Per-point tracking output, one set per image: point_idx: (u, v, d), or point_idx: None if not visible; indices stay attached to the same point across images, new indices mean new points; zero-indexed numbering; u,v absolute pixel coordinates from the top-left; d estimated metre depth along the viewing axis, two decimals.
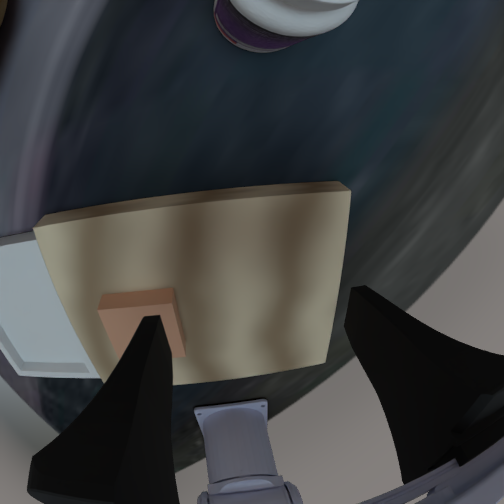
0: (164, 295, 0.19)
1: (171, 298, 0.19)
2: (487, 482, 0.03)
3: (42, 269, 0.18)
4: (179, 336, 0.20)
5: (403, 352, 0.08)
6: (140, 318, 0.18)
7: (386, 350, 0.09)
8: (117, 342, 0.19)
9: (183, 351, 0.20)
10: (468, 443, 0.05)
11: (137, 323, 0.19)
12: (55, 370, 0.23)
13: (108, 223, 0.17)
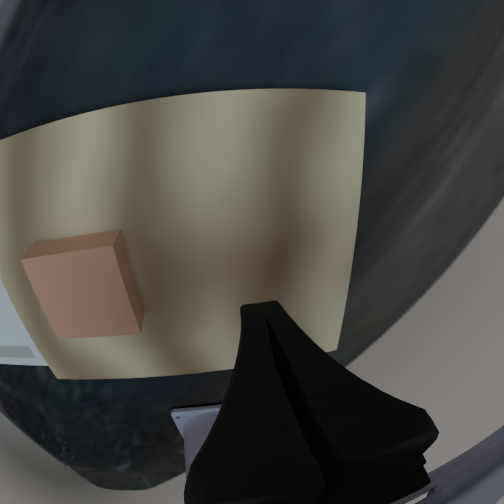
0: (106, 238, 0.13)
1: (113, 240, 0.12)
2: (487, 482, 0.03)
3: None
4: (128, 301, 0.13)
5: (292, 381, 0.08)
6: (73, 271, 0.12)
7: (283, 374, 0.09)
8: (50, 309, 0.13)
9: (136, 325, 0.14)
10: (348, 499, 0.05)
11: (70, 279, 0.12)
12: (1, 354, 0.17)
13: (39, 137, 0.10)
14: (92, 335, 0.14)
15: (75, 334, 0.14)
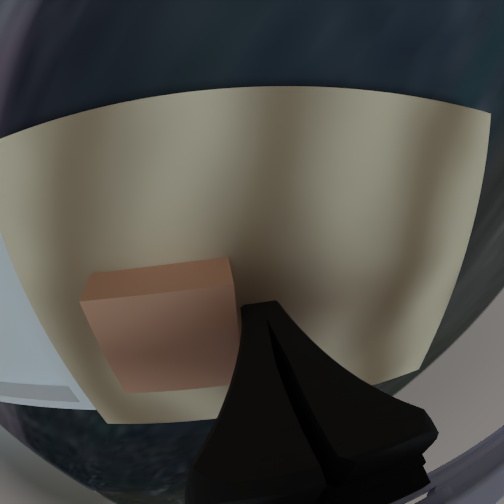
0: (214, 270, 0.10)
1: (230, 275, 0.10)
2: (487, 482, 0.03)
3: None
4: (238, 349, 0.11)
5: (291, 381, 0.08)
6: (165, 317, 0.09)
7: (282, 374, 0.09)
8: (120, 362, 0.10)
9: None
10: (348, 499, 0.05)
11: (158, 328, 0.10)
12: (31, 396, 0.14)
13: (112, 122, 0.08)
14: (176, 388, 0.11)
15: (152, 388, 0.11)
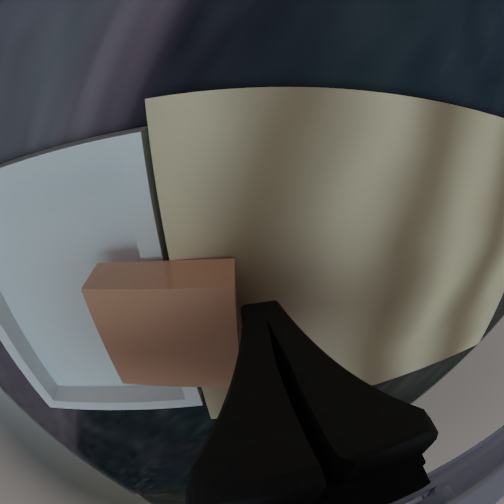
0: (218, 271, 0.10)
1: (232, 277, 0.09)
2: (487, 482, 0.03)
3: (139, 201, 0.10)
4: (236, 352, 0.10)
5: (291, 381, 0.08)
6: (164, 313, 0.09)
7: (282, 374, 0.09)
8: (119, 352, 0.10)
9: None
10: (347, 500, 0.05)
11: (157, 323, 0.10)
12: (118, 399, 0.15)
13: (327, 103, 0.09)
14: (173, 384, 0.11)
15: (149, 381, 0.11)
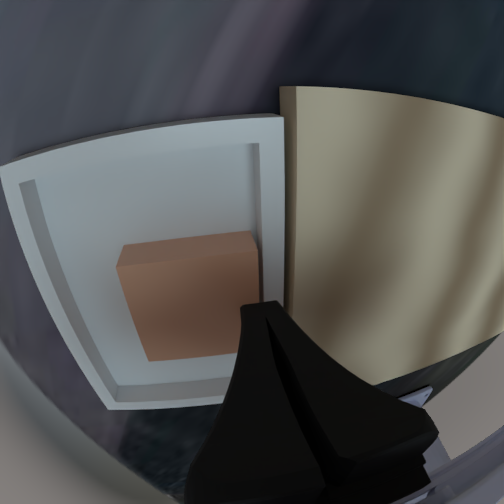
0: (239, 240, 0.11)
1: (253, 244, 0.11)
2: (487, 482, 0.03)
3: (272, 185, 0.10)
4: None
5: (292, 381, 0.08)
6: (195, 281, 0.11)
7: (283, 374, 0.09)
8: (148, 328, 0.12)
9: None
10: (348, 499, 0.05)
11: (187, 291, 0.11)
12: (192, 395, 0.15)
13: (432, 113, 0.09)
14: (198, 355, 0.13)
15: (175, 355, 0.13)
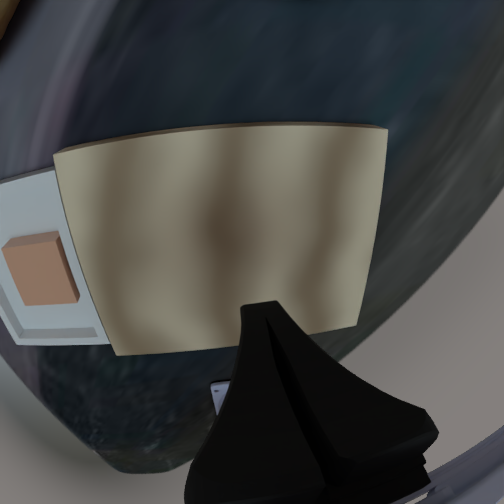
0: (53, 235, 0.17)
1: (57, 237, 0.17)
2: (487, 482, 0.03)
3: (56, 206, 0.16)
4: (67, 278, 0.18)
5: (292, 381, 0.08)
6: (33, 257, 0.17)
7: (283, 374, 0.09)
8: (20, 283, 0.18)
9: (73, 296, 0.19)
10: (348, 499, 0.05)
11: (31, 263, 0.17)
12: (58, 336, 0.21)
13: (140, 146, 0.15)
14: (46, 303, 0.19)
15: (36, 302, 0.19)
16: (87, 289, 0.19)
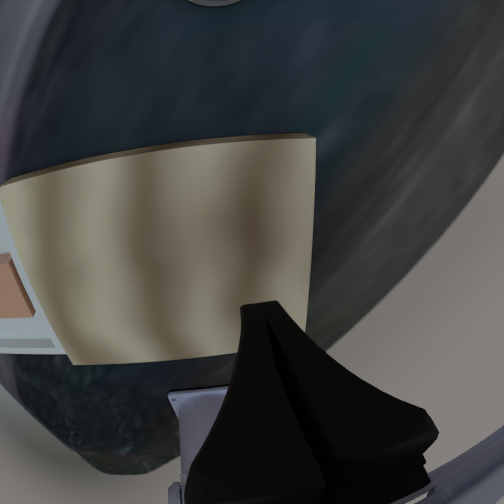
0: (8, 257, 0.17)
1: (10, 259, 0.17)
2: (487, 482, 0.03)
3: (6, 232, 0.16)
4: (21, 295, 0.18)
5: (292, 381, 0.08)
6: None
7: (283, 374, 0.09)
8: None
9: (29, 311, 0.19)
10: (348, 499, 0.05)
11: None
12: (24, 346, 0.21)
13: (64, 177, 0.15)
14: (8, 317, 0.19)
15: (0, 316, 0.19)
16: (40, 305, 0.19)
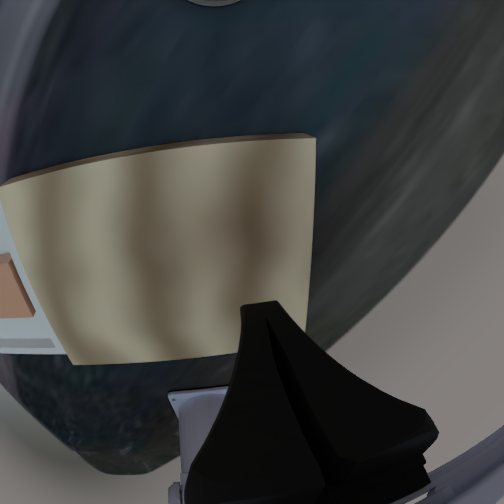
0: (8, 257, 0.17)
1: (10, 259, 0.17)
2: (487, 482, 0.03)
3: (6, 232, 0.16)
4: (21, 295, 0.18)
5: (292, 381, 0.08)
6: None
7: (283, 374, 0.09)
8: None
9: (29, 311, 0.19)
10: (348, 499, 0.05)
11: None
12: (24, 346, 0.21)
13: (64, 177, 0.15)
14: (8, 317, 0.19)
15: (0, 316, 0.19)
16: (40, 305, 0.19)
